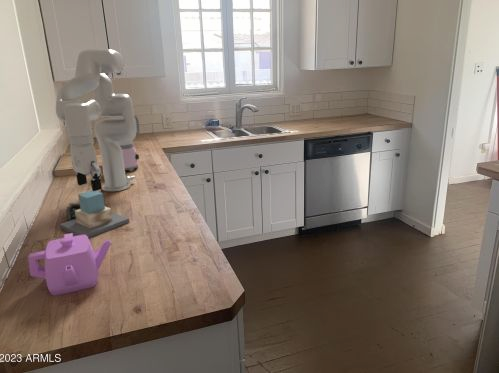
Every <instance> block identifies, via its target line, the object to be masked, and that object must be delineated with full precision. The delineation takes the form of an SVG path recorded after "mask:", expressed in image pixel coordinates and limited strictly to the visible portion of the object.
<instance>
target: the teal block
mask: <svg viewBox="0 0 499 373" xmlns="http://www.w3.org/2000/svg"><path fill="white" fill-rule="evenodd" d="M77 198H78V201H79V203H78V204H80V208H81V211H84V212H86V213H88V214H91V213H94V212H97V211H100V210H103V209H105V206H106V205H105V201H104V199H105V198H104V193H103V192H100V191H99V190H97V191H92V190H90V191H86V192H83V193H78V194H77Z"/></svg>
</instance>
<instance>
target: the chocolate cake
mask: <svg viewBox="0 0 499 373" xmlns="http://www.w3.org/2000/svg"><path fill="white" fill-rule="evenodd" d="M79 209H81V208H80V203H73V202H71V203H70V202H69V204H68V206H67V207H66V210H65V213H66V214H65V215H66V216H65V218H66V220H67V221H71V220H74V219H76V215H75V211H76V210H79Z"/></svg>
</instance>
